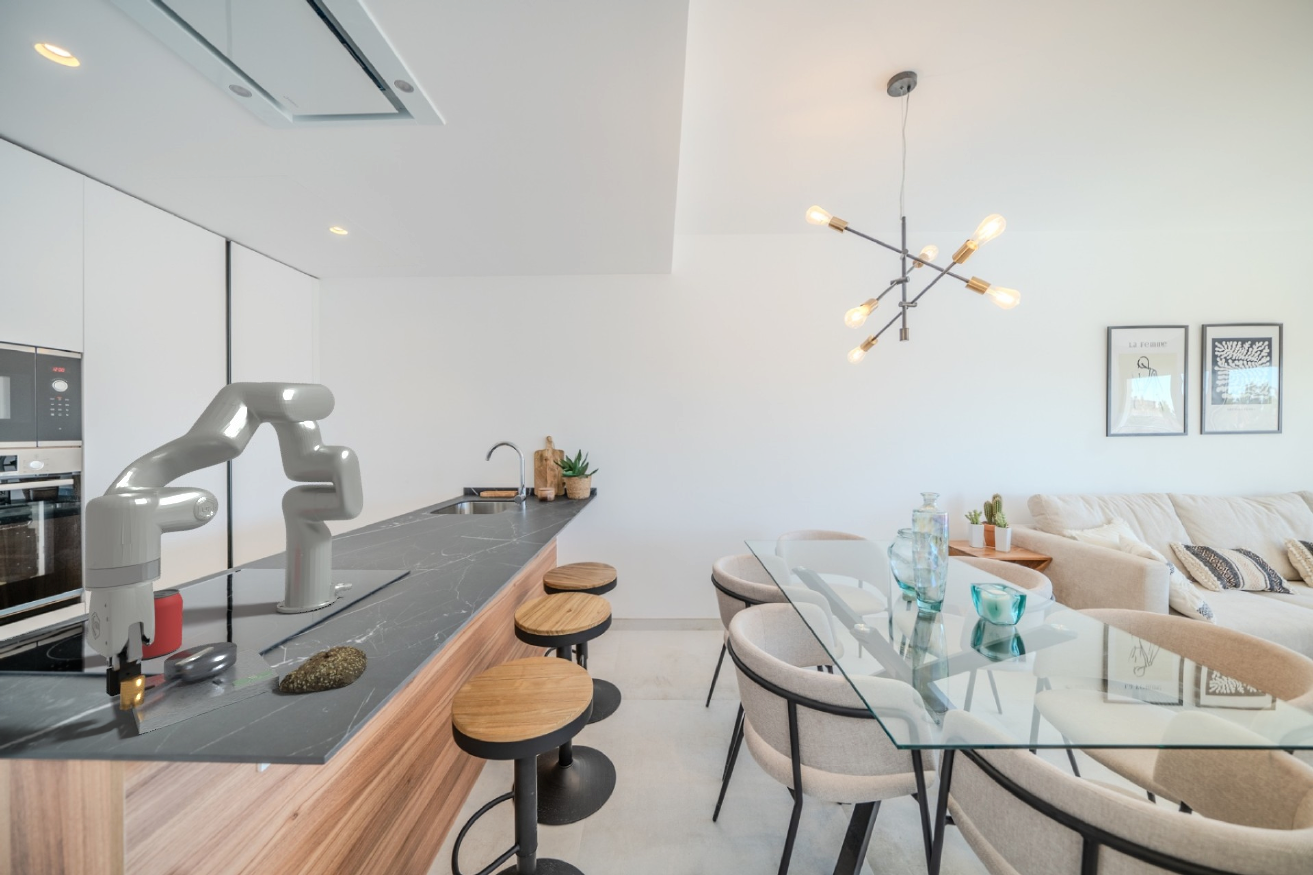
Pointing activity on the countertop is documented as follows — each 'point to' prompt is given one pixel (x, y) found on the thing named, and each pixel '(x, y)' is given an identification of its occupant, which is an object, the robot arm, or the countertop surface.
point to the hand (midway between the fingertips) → (123, 690)
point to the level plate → (205, 692)
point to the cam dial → (180, 671)
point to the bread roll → (326, 670)
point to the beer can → (166, 624)
